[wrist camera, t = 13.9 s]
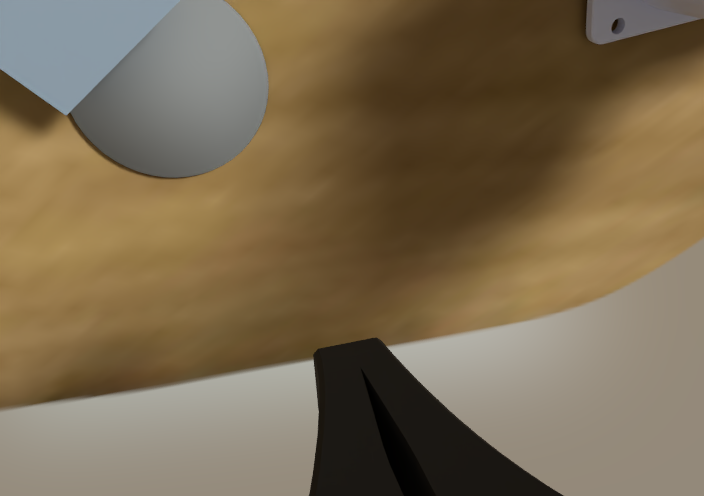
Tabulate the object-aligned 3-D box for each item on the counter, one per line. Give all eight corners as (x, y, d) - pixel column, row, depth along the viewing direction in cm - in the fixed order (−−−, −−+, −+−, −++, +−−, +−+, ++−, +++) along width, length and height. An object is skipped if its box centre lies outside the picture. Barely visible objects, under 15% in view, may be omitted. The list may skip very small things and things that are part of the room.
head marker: (305, 86, 19) (307, 88, 18) (178, 208, 20) (178, 211, 19) (157, -75, 15) (157, -75, 15) (14, 81, 16) (13, 82, 16)
